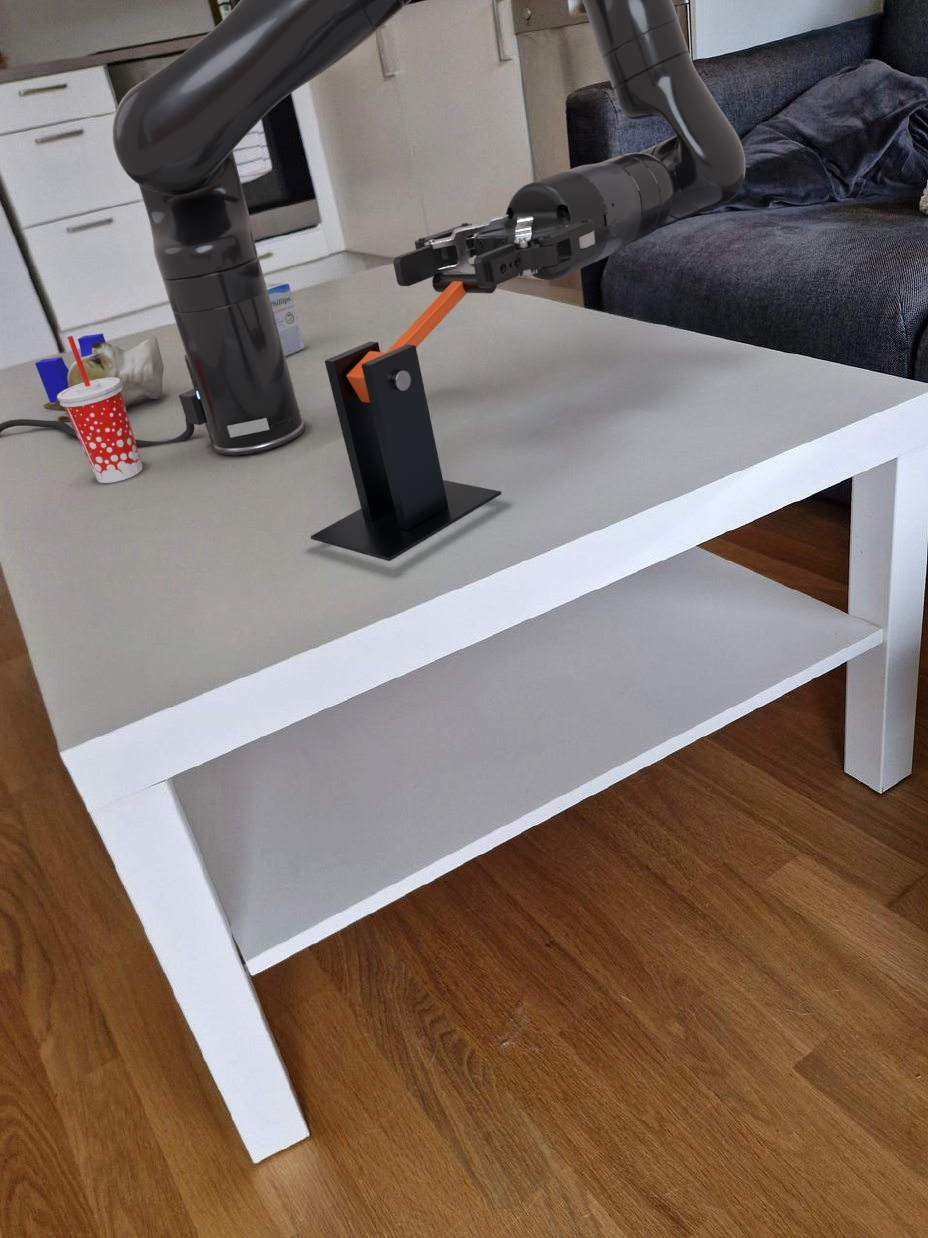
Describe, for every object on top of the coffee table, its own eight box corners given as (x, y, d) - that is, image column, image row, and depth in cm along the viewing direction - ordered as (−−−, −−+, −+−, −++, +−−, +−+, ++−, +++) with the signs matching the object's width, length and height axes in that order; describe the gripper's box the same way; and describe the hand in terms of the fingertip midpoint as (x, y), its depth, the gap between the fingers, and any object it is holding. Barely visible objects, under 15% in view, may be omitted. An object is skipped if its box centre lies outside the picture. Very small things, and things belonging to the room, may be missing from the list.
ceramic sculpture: (161, 327, 120) (36, 372, 115) (189, 397, 125) (69, 444, 119) (139, 317, 129) (21, 360, 124) (165, 383, 133) (52, 427, 128)
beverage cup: (161, 465, 104) (114, 327, 98) (108, 489, 101) (55, 348, 94) (130, 458, 108) (83, 325, 102) (79, 481, 105) (25, 345, 98)
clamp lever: (450, 289, 81) (437, 263, 79) (502, 290, 77) (490, 263, 76) (346, 399, 76) (330, 373, 74) (396, 406, 72) (381, 379, 71)
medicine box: (243, 356, 139) (225, 291, 135) (268, 346, 142) (251, 281, 137) (281, 359, 134) (262, 291, 130) (306, 348, 137) (289, 281, 132)
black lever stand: (424, 489, 86) (388, 324, 79) (504, 506, 80) (473, 329, 73) (314, 551, 79) (265, 376, 73) (392, 574, 73) (347, 386, 67)
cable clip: (89, 380, 143) (73, 337, 140) (117, 376, 142) (102, 333, 139) (42, 410, 133) (24, 364, 130) (73, 406, 132) (55, 360, 129)
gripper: (503, 175, 88) (362, 222, 79) (641, 164, 79) (500, 216, 69) (516, 265, 92) (383, 321, 82) (650, 266, 82) (517, 328, 73)
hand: (437, 273), depth 76 cm, fingers open, 8 cm apart
